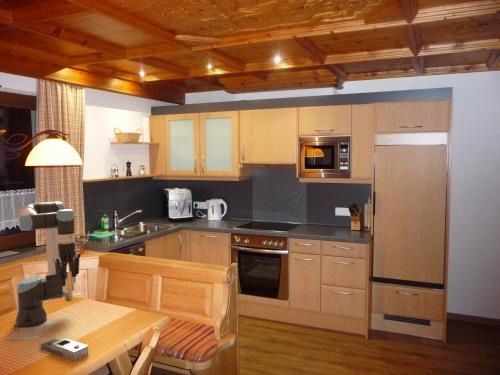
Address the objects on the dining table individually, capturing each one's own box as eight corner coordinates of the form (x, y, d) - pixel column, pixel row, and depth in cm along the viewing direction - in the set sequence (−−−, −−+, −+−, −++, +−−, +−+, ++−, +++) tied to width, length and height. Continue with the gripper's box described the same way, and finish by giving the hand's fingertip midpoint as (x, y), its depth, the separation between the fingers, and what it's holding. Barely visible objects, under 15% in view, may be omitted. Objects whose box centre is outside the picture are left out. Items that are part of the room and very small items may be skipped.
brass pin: (64, 300, 197) (62, 271, 196) (69, 298, 200) (68, 270, 199) (68, 301, 195) (67, 272, 195) (74, 299, 198) (73, 270, 197)
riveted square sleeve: (40, 348, 192) (40, 339, 192) (54, 342, 198) (54, 333, 198) (74, 360, 180) (74, 350, 180) (88, 354, 186) (87, 344, 186)
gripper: (56, 246, 187) (58, 297, 188) (86, 240, 201) (88, 287, 202) (45, 244, 191) (48, 294, 192) (75, 238, 205) (77, 285, 206)
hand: (68, 291), depth 197 cm, fingers closed on brass pin, 3 cm apart
